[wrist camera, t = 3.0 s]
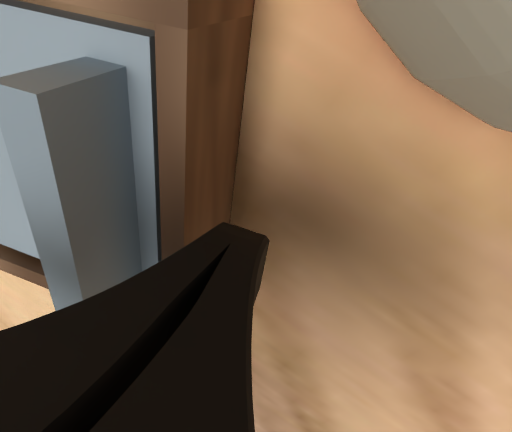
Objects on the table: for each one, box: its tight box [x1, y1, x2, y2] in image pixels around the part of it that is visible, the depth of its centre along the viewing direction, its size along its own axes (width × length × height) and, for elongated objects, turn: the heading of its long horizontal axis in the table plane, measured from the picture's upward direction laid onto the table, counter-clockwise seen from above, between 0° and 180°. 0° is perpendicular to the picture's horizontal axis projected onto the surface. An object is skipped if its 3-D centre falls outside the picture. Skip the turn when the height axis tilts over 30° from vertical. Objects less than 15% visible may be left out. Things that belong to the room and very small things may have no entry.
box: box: [0, 0, 254, 289], centre depth 14 cm, size 14×12×4 cm
